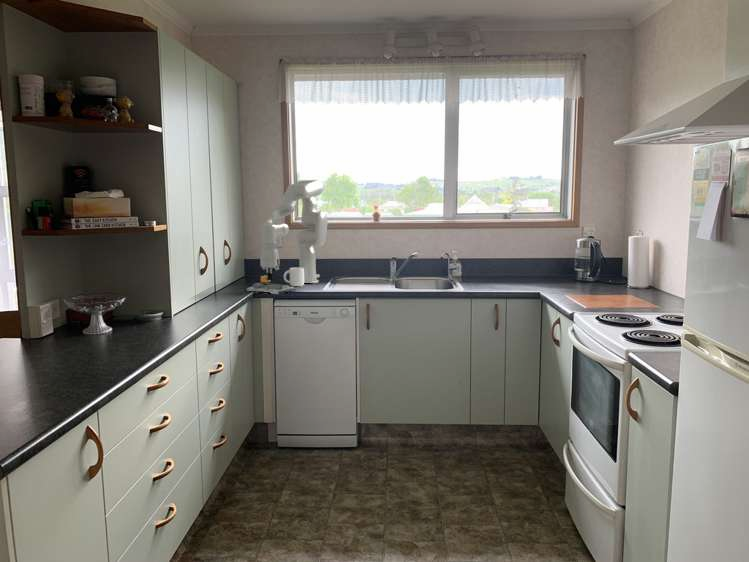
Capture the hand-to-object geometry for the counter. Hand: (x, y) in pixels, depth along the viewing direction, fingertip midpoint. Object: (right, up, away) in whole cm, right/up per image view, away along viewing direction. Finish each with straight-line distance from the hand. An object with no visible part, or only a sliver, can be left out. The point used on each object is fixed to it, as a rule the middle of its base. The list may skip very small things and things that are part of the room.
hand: (270, 280), depth 329 cm
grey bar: (+10, -7, -4) cm, 13 cm away
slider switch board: (0, -6, +1) cm, 6 cm away
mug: (+10, -4, +18) cm, 21 cm away
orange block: (-3, -4, +2) cm, 5 cm away
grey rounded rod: (-11, -5, +7) cm, 14 cm away
